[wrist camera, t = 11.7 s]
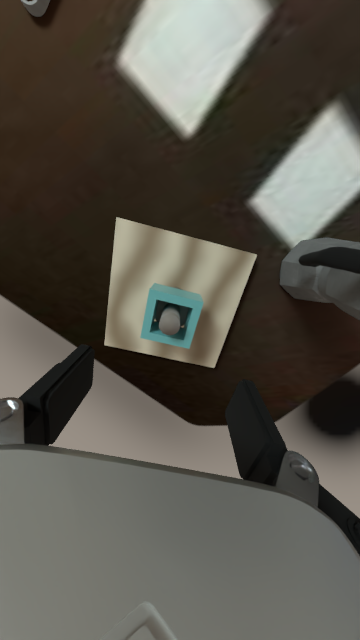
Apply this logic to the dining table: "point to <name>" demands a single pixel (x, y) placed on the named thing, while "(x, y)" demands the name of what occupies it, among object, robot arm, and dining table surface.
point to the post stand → (178, 272)
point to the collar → (176, 297)
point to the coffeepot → (324, 273)
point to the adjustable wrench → (36, 6)
